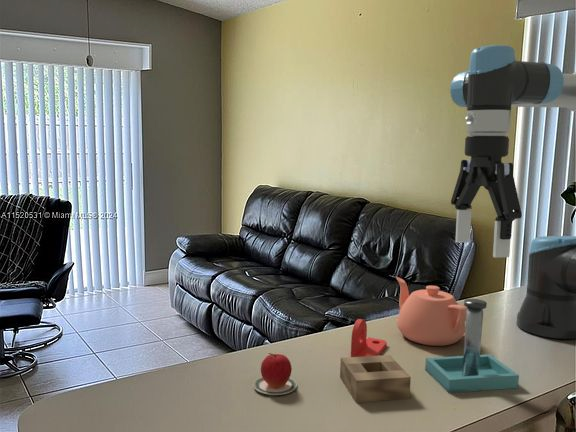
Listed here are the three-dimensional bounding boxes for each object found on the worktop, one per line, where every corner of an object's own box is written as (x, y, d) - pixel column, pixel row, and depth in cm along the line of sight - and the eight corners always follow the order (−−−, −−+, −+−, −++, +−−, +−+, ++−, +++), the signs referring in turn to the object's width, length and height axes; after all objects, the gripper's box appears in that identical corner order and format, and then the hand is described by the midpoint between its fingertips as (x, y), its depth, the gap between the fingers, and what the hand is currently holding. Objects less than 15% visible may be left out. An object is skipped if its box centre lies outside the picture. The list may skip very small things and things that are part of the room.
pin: (474, 370, 107) (479, 298, 105) (485, 379, 103) (490, 304, 101) (455, 371, 106) (460, 299, 104) (465, 380, 102) (471, 305, 100)
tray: (488, 365, 111) (489, 354, 110) (517, 387, 101) (519, 375, 101) (425, 369, 108) (425, 358, 108) (448, 392, 98) (449, 379, 98)
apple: (245, 384, 100) (245, 351, 99) (279, 374, 105) (280, 342, 104) (270, 401, 94) (270, 366, 93) (305, 389, 99) (306, 355, 98)
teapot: (372, 327, 132) (374, 278, 131) (417, 318, 140) (419, 272, 138) (440, 359, 114) (443, 303, 112) (487, 346, 122) (491, 293, 120)
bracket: (371, 365, 110) (373, 327, 109) (350, 360, 112) (351, 324, 111) (387, 345, 121) (389, 311, 120) (368, 342, 123) (369, 308, 122)
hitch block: (389, 374, 106) (390, 355, 105) (409, 398, 96) (410, 377, 95) (340, 377, 104) (340, 357, 103) (355, 402, 94) (356, 380, 94)
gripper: (437, 134, 109) (432, 237, 113) (508, 134, 85) (499, 265, 88) (471, 135, 111) (465, 236, 114) (550, 134, 87) (540, 263, 90)
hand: (480, 249), depth 101 cm, fingers open, 13 cm apart
